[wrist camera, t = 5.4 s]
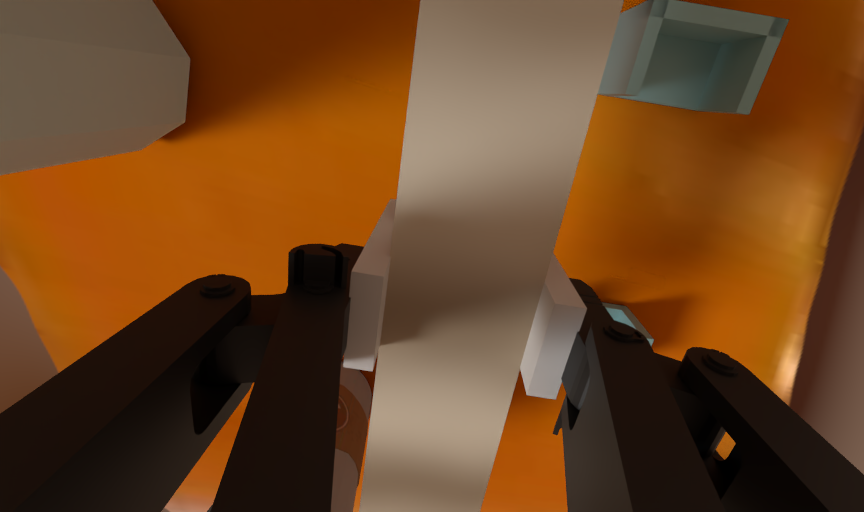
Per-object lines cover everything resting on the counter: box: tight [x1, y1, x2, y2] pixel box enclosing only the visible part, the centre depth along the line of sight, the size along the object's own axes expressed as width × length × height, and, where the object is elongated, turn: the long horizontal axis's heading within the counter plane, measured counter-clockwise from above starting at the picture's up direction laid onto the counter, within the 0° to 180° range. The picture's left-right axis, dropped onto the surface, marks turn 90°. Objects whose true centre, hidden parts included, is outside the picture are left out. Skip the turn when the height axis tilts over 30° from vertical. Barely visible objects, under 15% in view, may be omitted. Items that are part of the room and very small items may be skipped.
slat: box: [359, 0, 624, 512], centre depth 14 cm, size 20×4×6 cm, turn 171°
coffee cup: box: [207, 362, 372, 512], centre depth 28 cm, size 8×8×15 cm
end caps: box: [598, 0, 789, 346], centre depth 26 cm, size 23×7×4 cm, turn 171°
